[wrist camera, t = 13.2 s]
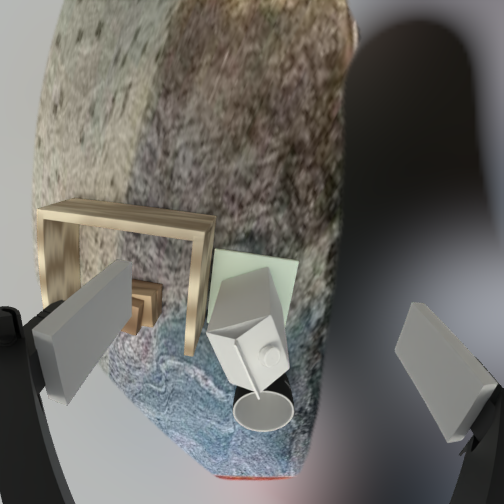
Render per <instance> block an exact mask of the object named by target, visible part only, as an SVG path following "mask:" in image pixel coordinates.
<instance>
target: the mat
mask: <svg viewBox="0 0 504 504" xmlns="http://www.w3.org/2000/svg"><path fill="white" fill-rule="evenodd" d="M298 263H299V261H298V260H293V259H286V258H279V257H273V256H266V255H259V254H253V253H246V252H239V251H233V250H226V249H220V248H215V253H214V261H213V270H212V278H211V287H210V296H209V306H208V315H207V323H209V322H210V318H211V315H212V312H213V309H214V305H215V302H216V299H217V295H218V292H219V289H220V285H221V282H222V281H223V280H226V279H229V278H232V277H236V276H239V275H242V274H246V273H249V272H252V271H255V270H259V269H262V268H265V267H269V270H270V272H271V275H272V278H273V281H274V284H275V287H276V290H277V293H278V296H279V299H280V302H281V305H282V309H283V317H284V324H286V320H287V315H288V311H289V306H290V302H291V297H292V292H293V287H294V283H295V278H296V273H297V268H298Z"/></svg>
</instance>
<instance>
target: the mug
mask: <svg viewBox="0 0 504 504" xmlns="http://www.w3.org/2000/svg"><path fill="white" fill-rule="evenodd" d="M293 414H294V402H293V397H292V392H291V388H290V384H289V381H288V378H287V375H286V373H284V374H282V375H281V376H280V377H279V378H278V379H276V380H275V381H274V382H273V383H272V384H270V385H269V386H268V387H267V388H265V389H264V390H263V391H262V392H260V399H258V398H257V396H256V394H255V392H254V391H251V390H248V389H246V388H243V387H240V386H237V388H236V392H235V396H234V402H233V415H234V418H235V420H236V421H237V422H238V423H239V424H240V425H242V426H243V427H245V428H247V429H250V430H253V431H259V432H267V431H273V430H277V429H279V428H281V427H283V426H285V425H286V424H287V423H288V422H289V421H290V420H291V419H292V417H293Z"/></svg>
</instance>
